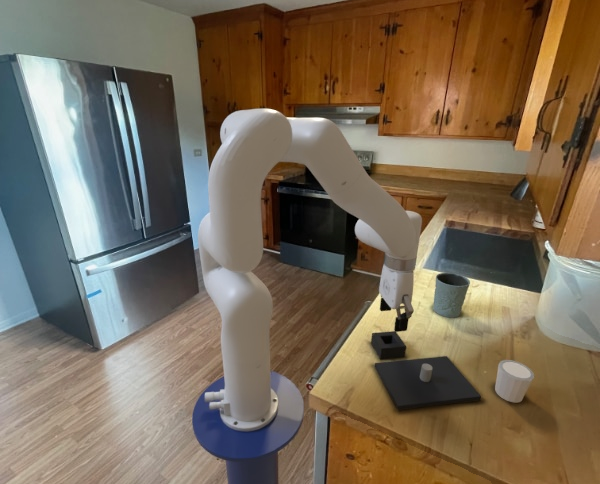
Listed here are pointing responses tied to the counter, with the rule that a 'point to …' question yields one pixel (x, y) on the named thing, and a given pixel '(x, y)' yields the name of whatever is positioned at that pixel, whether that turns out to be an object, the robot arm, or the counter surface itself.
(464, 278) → the grey green embossed cup
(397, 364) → the base pad
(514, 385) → the white short cylinder
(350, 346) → the counter surface
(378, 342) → the black square frame
